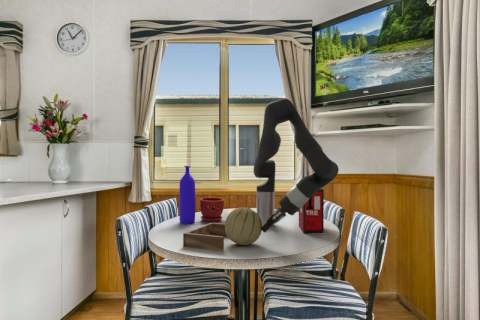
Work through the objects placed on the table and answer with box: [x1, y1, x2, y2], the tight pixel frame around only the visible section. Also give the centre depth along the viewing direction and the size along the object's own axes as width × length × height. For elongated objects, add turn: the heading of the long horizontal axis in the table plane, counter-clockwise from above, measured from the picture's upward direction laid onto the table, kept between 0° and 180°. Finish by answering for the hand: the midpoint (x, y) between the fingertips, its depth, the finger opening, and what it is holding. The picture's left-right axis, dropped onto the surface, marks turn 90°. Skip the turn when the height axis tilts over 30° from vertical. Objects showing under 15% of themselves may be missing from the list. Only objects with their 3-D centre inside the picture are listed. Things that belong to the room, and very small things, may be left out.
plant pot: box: [199, 197, 225, 223], centre depth 182 cm, size 13×13×12 cm
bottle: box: [178, 165, 196, 225], centre depth 175 cm, size 8×8×30 cm
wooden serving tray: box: [182, 222, 227, 252], centre depth 135 cm, size 23×17×5 cm
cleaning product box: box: [298, 188, 325, 235], centre depth 158 cm, size 16×9×20 cm, turn 178°
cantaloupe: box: [224, 205, 263, 246], centre depth 130 cm, size 15×15×15 cm
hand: (263, 230), depth 128 cm, fingers closed
